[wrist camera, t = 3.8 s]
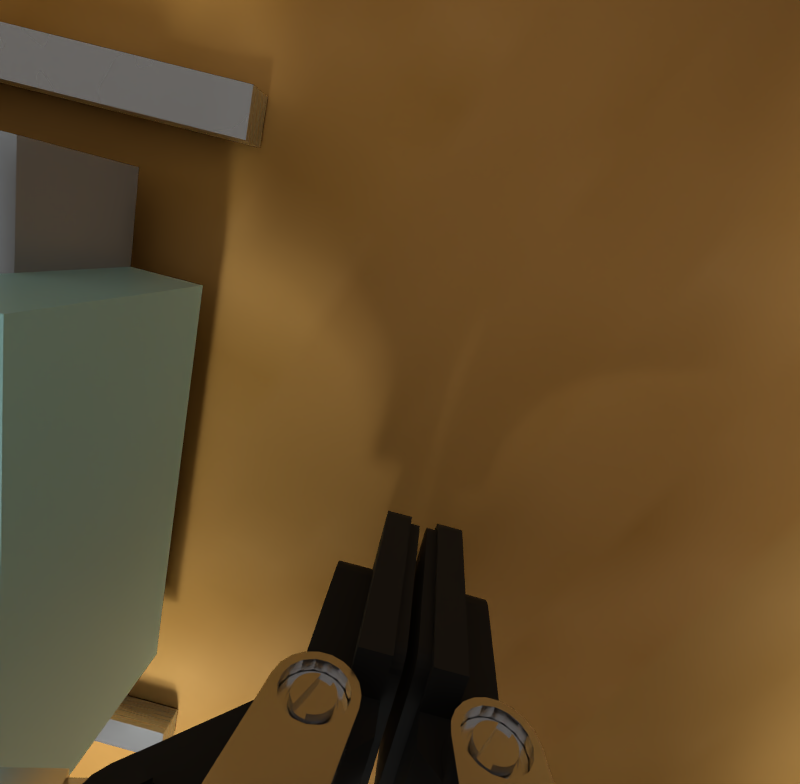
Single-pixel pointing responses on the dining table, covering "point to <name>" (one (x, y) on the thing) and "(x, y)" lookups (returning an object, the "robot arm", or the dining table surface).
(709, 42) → the dining table surface
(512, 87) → the dining table surface
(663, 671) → the dining table surface
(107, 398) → the drawer
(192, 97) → the rails
